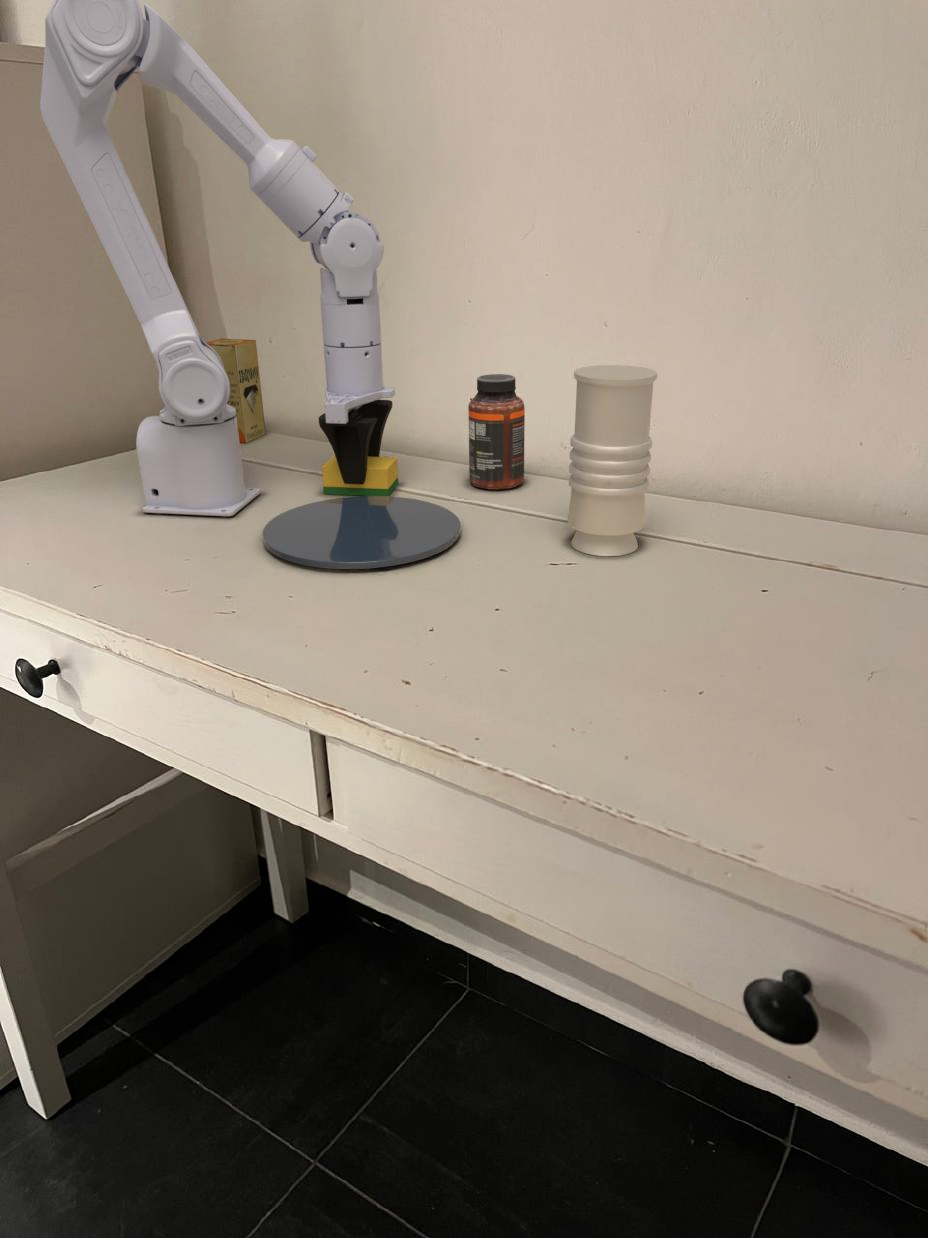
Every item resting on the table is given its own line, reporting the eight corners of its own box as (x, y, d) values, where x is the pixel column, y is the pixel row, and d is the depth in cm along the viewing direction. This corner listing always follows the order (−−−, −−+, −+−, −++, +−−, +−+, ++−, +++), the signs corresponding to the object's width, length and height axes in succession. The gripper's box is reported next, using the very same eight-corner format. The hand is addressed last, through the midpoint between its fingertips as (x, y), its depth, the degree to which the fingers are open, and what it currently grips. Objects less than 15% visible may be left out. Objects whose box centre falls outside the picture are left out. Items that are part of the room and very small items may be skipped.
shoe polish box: (212, 440, 114) (199, 343, 109) (233, 431, 118) (221, 338, 113) (246, 443, 113) (234, 345, 107) (265, 433, 117) (255, 339, 112)
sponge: (323, 494, 93) (321, 466, 92) (336, 481, 97) (334, 454, 96) (388, 496, 92) (387, 468, 90) (398, 484, 96) (397, 457, 94)
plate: (231, 567, 75) (230, 556, 74) (301, 501, 91) (300, 492, 90) (440, 579, 72) (440, 567, 71) (474, 509, 88) (474, 499, 87)
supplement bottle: (525, 476, 98) (527, 371, 93) (522, 492, 93) (525, 382, 88) (471, 475, 99) (470, 371, 94) (466, 491, 93) (465, 381, 88)
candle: (658, 542, 79) (674, 371, 72) (614, 564, 74) (627, 383, 68) (595, 525, 83) (605, 361, 77) (550, 545, 79) (556, 372, 72)
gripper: (373, 356, 81) (380, 498, 87) (407, 333, 94) (412, 459, 100) (299, 354, 82) (311, 495, 88) (343, 333, 95) (351, 457, 101)
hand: (360, 476), depth 94 cm, fingers closed on sponge, 4 cm apart
